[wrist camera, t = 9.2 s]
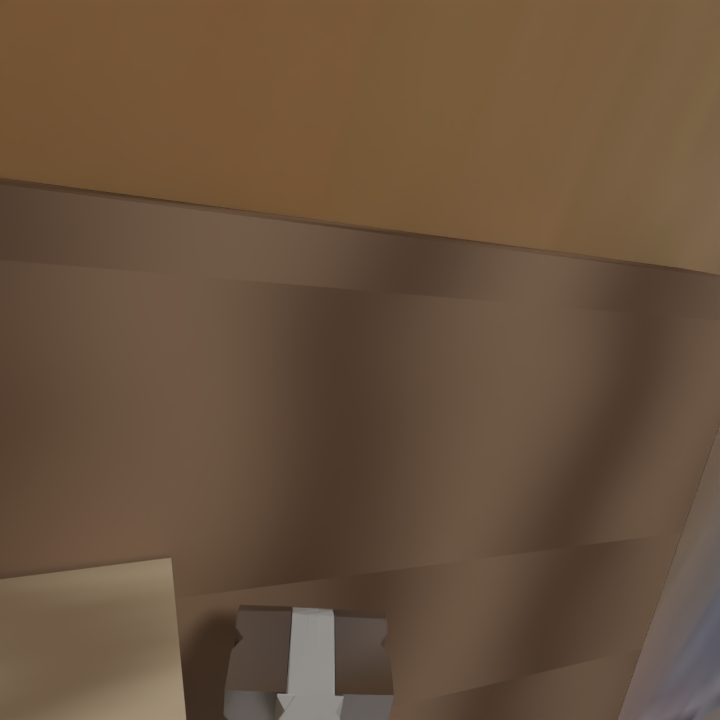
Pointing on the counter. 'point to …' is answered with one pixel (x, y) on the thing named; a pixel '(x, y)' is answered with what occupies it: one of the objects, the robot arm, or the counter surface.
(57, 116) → the counter surface
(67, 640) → the block
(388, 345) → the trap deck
